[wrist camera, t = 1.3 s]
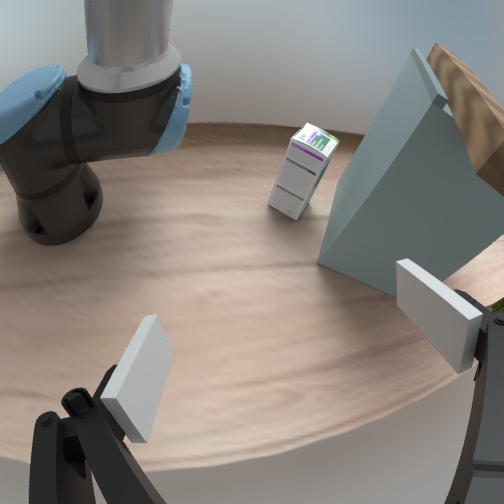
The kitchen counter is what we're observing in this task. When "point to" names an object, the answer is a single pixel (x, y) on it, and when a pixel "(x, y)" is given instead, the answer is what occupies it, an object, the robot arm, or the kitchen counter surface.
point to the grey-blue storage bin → (410, 191)
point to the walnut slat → (473, 115)
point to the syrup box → (302, 169)
